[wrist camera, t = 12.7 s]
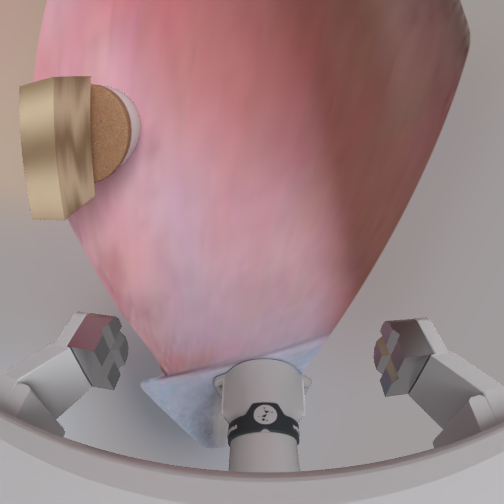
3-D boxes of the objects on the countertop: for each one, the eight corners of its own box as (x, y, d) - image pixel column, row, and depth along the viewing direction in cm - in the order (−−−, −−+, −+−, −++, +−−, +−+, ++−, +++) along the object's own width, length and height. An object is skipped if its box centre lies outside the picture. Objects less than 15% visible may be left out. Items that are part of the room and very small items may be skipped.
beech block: (95, 195, 27) (64, 220, 22) (64, 195, 27) (32, 219, 22) (90, 76, 21) (53, 77, 16) (58, 82, 21) (19, 86, 16)
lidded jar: (164, 150, 34) (136, 169, 26) (94, 176, 35) (56, 202, 27) (139, 70, 29) (103, 66, 21) (70, 104, 30) (25, 114, 22)
